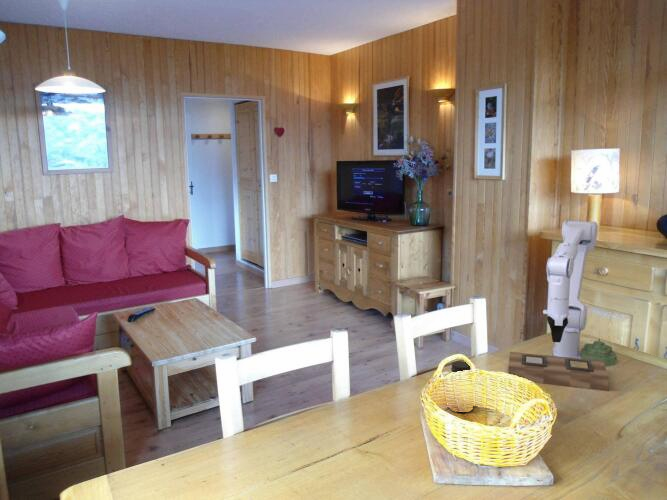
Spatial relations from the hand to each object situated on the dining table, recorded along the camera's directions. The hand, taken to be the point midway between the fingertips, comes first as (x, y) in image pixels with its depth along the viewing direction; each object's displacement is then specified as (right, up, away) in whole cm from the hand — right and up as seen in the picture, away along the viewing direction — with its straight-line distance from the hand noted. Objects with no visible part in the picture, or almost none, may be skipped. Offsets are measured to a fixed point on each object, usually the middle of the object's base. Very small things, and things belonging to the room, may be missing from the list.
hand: (556, 341), depth 155 cm
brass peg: (+5, -10, -4) cm, 12 cm away
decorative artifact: (+17, -8, +9) cm, 21 cm away
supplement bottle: (-33, -14, -18) cm, 40 cm away
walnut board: (-1, -10, -2) cm, 10 cm away
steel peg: (-7, -10, 0) cm, 12 cm away
